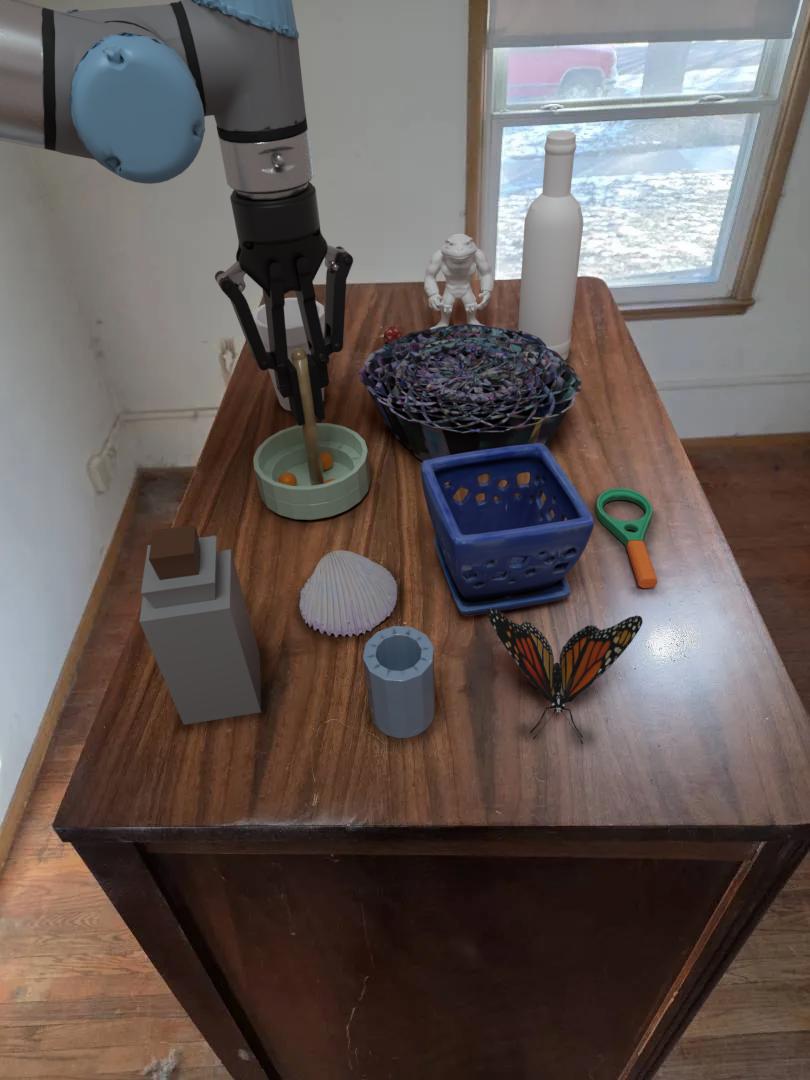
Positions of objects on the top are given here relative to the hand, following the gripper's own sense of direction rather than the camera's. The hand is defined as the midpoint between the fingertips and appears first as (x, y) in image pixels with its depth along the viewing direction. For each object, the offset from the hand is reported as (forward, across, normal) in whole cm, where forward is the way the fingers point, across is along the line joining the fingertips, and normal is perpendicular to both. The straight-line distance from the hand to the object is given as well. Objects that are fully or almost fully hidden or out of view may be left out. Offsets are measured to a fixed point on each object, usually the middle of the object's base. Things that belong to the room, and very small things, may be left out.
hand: (308, 416), depth 80 cm
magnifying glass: (+11, +28, -22) cm, 37 cm away
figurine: (+11, +34, +31) cm, 47 cm away
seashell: (+11, -3, -17) cm, 21 cm away
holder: (+11, -3, -32) cm, 34 cm away
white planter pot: (+11, +5, +22) cm, 25 cm away
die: (+11, +23, +31) cm, 40 cm away
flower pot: (+11, +12, -21) cm, 27 cm away
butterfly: (+11, +9, -37) cm, 39 cm away
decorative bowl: (+11, +23, +5) cm, 26 cm away
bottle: (+11, +41, +17) cm, 46 cm away
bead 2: (+10, +2, +4) cm, 11 cm away
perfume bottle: (+11, -17, -23) cm, 31 cm away
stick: (+10, 0, 0) cm, 10 cm away
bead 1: (+10, -3, +2) cm, 10 cm away
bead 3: (+10, +1, -1) cm, 10 cm away
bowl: (+11, 0, +2) cm, 11 cm away
